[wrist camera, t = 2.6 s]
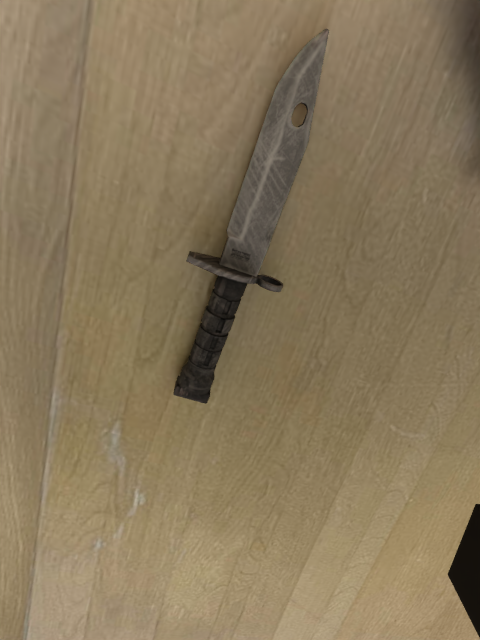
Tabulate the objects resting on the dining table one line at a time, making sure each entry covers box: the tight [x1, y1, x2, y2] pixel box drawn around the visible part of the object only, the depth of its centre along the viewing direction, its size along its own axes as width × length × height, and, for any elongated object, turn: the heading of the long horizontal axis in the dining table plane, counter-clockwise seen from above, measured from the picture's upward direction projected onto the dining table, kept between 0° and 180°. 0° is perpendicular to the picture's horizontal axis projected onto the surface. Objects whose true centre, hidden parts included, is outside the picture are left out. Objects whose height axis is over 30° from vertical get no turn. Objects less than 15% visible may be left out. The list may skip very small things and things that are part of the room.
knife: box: [174, 29, 329, 403], centre depth 21 cm, size 19×2×5 cm
